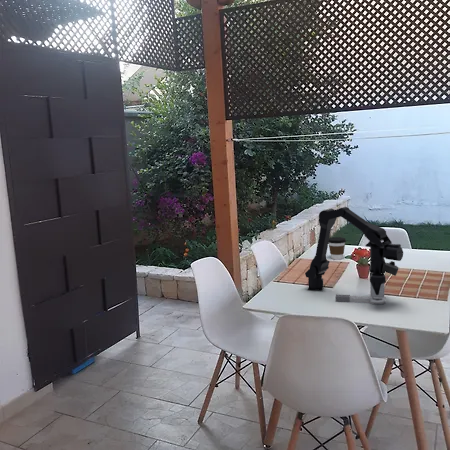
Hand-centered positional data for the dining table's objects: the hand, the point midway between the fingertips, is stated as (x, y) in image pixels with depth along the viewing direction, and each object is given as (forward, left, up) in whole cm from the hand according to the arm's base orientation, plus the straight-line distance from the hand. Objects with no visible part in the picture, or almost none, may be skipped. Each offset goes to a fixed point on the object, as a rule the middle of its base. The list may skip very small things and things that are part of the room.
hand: (377, 292), depth 202 cm
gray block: (0, 0, -1) cm, 1 cm away
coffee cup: (-21, +75, -4) cm, 78 cm away
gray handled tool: (-7, 0, -4) cm, 8 cm away
